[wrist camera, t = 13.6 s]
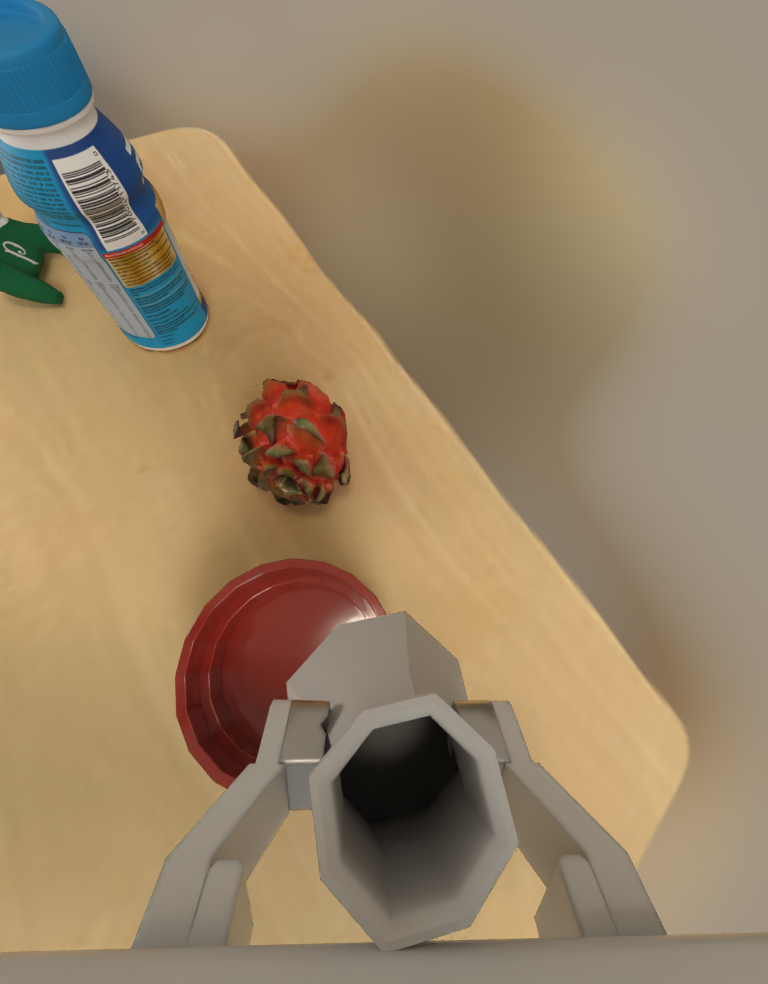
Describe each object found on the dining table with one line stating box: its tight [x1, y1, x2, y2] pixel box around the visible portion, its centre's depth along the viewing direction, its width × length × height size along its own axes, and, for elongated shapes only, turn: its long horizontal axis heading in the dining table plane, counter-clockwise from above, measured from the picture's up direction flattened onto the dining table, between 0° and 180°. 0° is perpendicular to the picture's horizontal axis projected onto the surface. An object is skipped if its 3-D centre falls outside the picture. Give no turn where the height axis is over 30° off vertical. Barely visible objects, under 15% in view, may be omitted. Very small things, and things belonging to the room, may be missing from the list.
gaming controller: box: [0, 213, 64, 304], centre depth 39 cm, size 9×4×6 cm
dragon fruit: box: [233, 379, 351, 505], centre depth 31 cm, size 8×8×12 cm
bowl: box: [175, 558, 386, 789], centre depth 26 cm, size 13×13×5 cm
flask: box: [286, 611, 519, 951], centre depth 11 cm, size 7×7×10 cm
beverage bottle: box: [0, 0, 208, 351], centre depth 29 cm, size 8×8×20 cm
